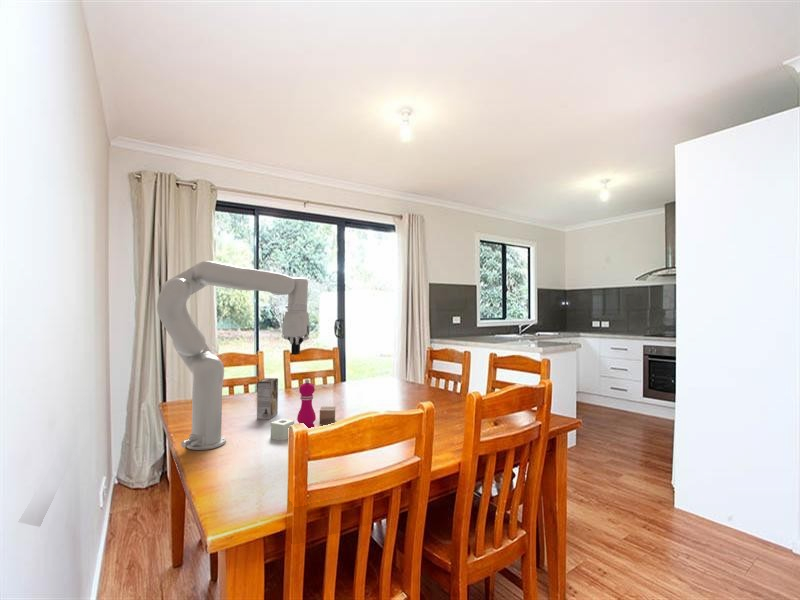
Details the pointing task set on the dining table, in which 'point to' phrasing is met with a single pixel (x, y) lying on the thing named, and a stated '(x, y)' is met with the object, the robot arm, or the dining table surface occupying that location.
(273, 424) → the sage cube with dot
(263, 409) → the coffee box
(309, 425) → the pepper mill
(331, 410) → the walnut cube
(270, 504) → the dining table surface
